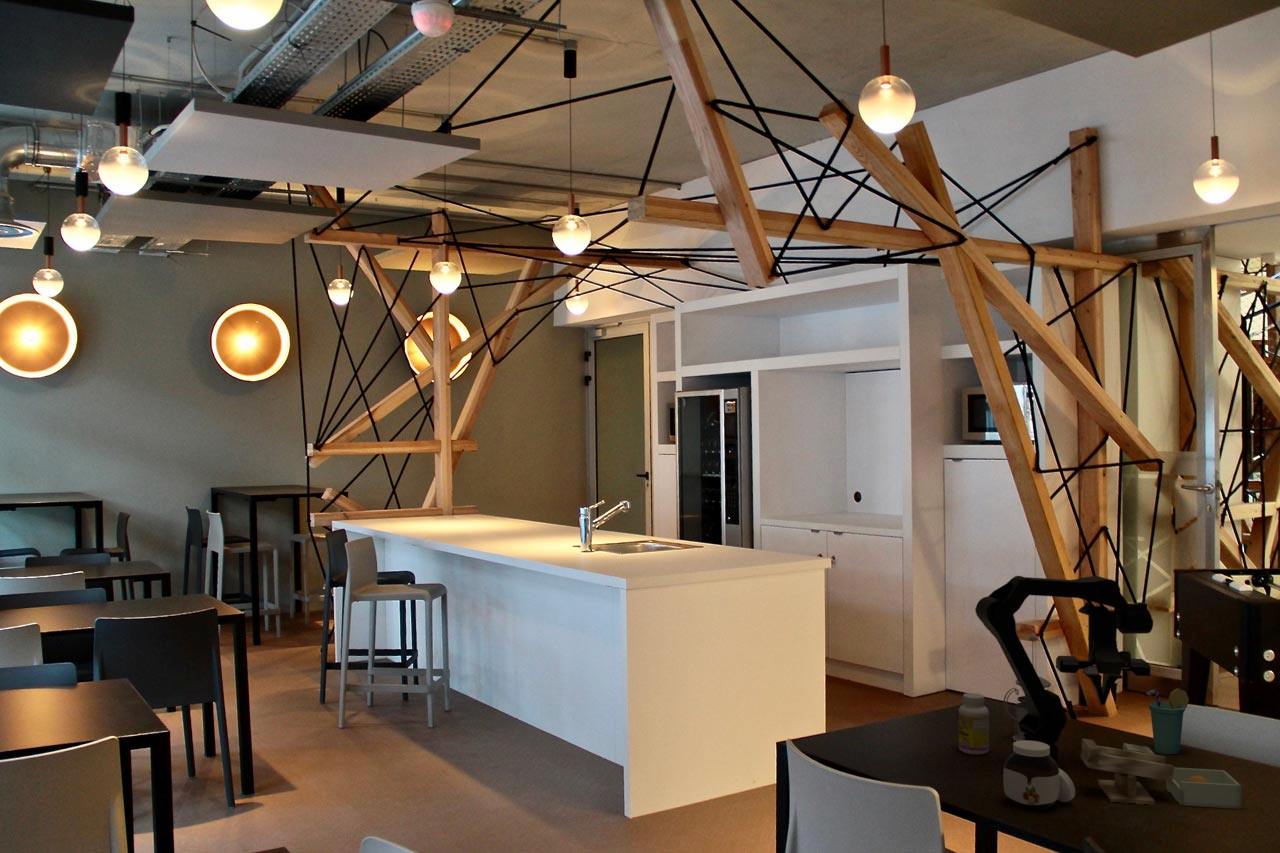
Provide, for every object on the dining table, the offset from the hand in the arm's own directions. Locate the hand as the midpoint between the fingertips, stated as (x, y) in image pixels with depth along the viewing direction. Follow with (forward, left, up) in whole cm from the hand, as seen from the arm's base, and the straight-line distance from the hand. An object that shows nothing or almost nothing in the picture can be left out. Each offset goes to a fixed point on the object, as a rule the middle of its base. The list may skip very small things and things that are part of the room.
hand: (1102, 704), depth 241 cm
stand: (0, -21, -13) cm, 25 cm away
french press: (-13, +16, -13) cm, 24 cm away
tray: (+14, -21, -13) cm, 29 cm away
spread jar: (-18, -30, -13) cm, 37 cm away
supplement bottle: (-27, +4, -13) cm, 30 cm away
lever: (0, -16, -8) cm, 18 cm away
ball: (+14, -21, -10) cm, 27 cm away
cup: (+16, +12, -13) cm, 24 cm away
